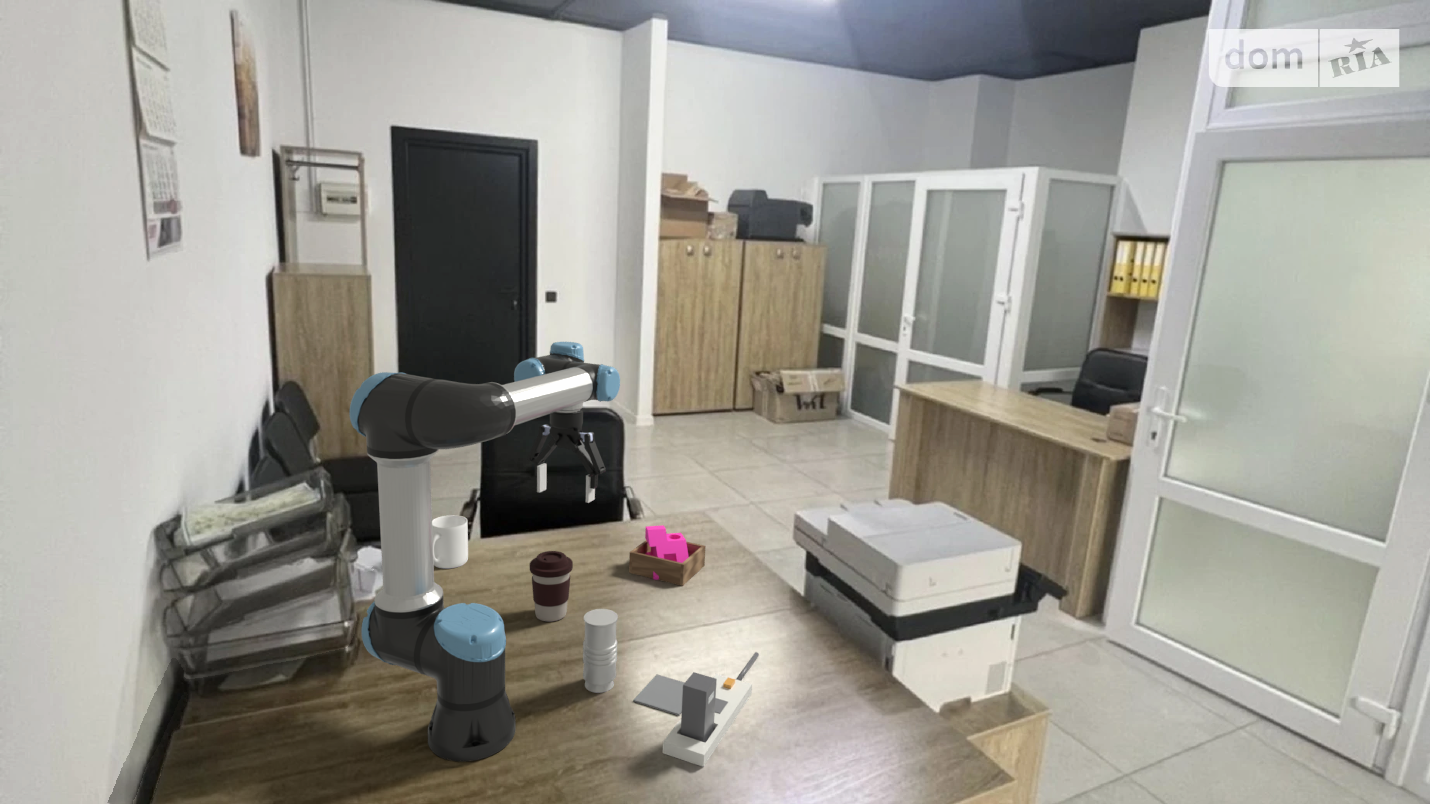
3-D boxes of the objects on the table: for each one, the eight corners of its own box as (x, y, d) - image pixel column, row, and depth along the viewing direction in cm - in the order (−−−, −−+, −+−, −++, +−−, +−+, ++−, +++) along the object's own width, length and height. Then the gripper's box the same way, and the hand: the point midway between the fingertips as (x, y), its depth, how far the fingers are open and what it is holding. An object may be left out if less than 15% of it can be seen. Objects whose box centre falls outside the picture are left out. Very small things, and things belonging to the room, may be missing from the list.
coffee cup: (577, 607, 187) (577, 549, 183) (565, 627, 177) (565, 567, 174) (537, 603, 188) (537, 546, 184) (523, 623, 178) (523, 563, 175)
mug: (473, 555, 212) (472, 516, 209) (457, 574, 200) (456, 533, 198) (439, 553, 212) (438, 514, 210) (421, 572, 200) (420, 530, 198)
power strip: (703, 766, 133) (704, 750, 133) (662, 753, 136) (663, 737, 136) (773, 660, 168) (774, 647, 167) (739, 651, 171) (740, 638, 170)
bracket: (644, 561, 214) (645, 526, 212) (679, 558, 217) (681, 524, 215) (653, 579, 203) (655, 543, 201) (691, 576, 206) (693, 540, 204)
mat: (679, 715, 147) (679, 714, 147) (633, 701, 151) (633, 699, 151) (700, 688, 156) (700, 687, 156) (656, 675, 160) (656, 674, 160)
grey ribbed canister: (611, 672, 160) (613, 606, 157) (620, 690, 154) (621, 622, 151) (579, 677, 158) (580, 610, 154) (586, 696, 151) (587, 627, 148)
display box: (682, 586, 201) (683, 564, 199) (629, 572, 207) (629, 552, 205) (704, 565, 213) (705, 545, 212) (653, 554, 219) (653, 534, 218)
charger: (703, 751, 137) (706, 692, 135) (680, 743, 139) (682, 685, 136) (713, 736, 141) (716, 678, 139) (690, 729, 143) (693, 672, 141)
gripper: (621, 413, 176) (619, 500, 181) (531, 399, 185) (531, 482, 190) (604, 419, 169) (602, 510, 174) (512, 404, 178) (512, 491, 183)
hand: (565, 495), depth 182 cm, fingers open, 13 cm apart
